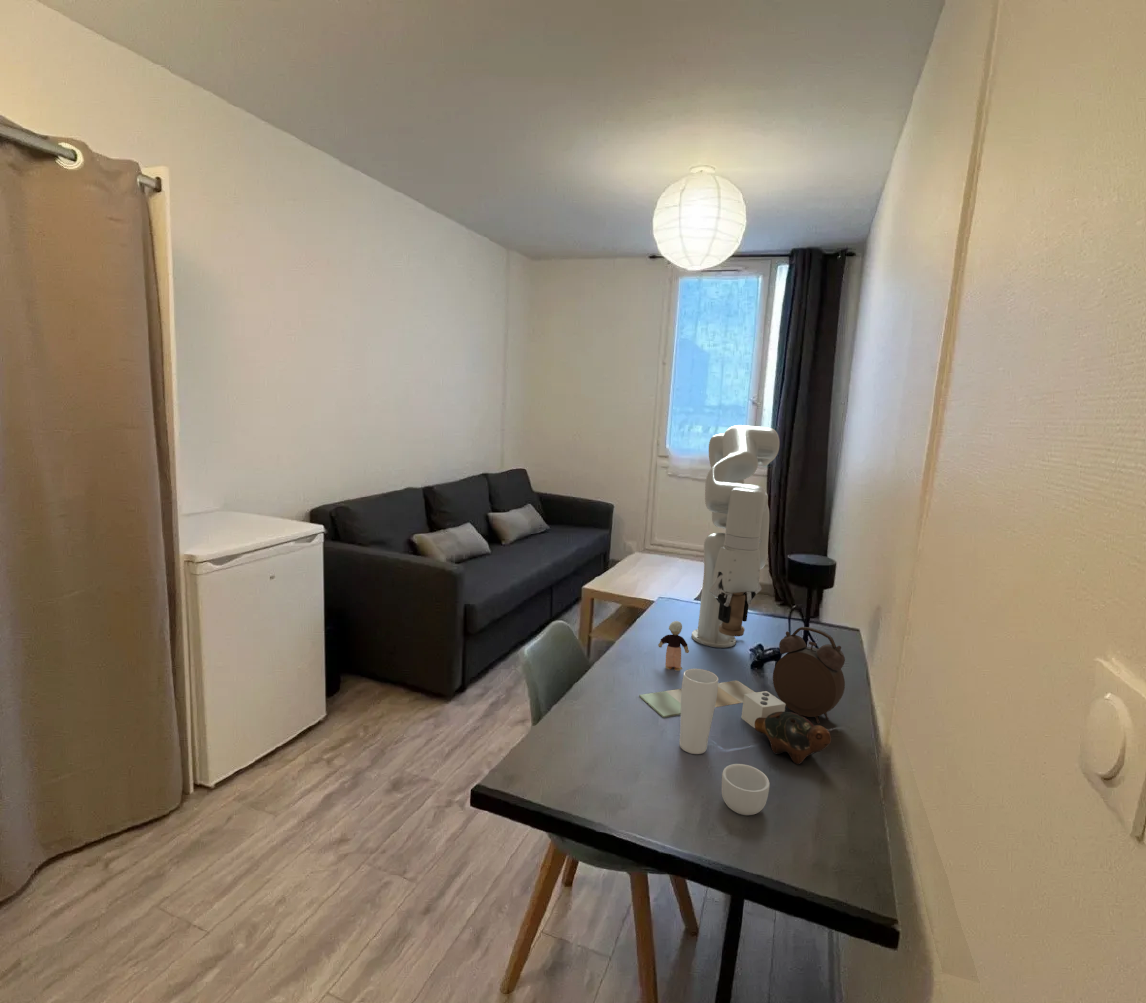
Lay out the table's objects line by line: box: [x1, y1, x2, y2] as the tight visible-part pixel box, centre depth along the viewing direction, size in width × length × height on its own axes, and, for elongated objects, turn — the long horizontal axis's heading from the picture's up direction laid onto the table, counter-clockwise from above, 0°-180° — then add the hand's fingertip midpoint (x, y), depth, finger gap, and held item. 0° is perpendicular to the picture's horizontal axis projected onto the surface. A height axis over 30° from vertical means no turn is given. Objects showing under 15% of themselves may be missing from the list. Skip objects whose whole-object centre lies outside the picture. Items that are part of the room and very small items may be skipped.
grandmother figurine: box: [657, 620, 690, 672], centre depth 157 cm, size 8×4×13 cm, turn 84°
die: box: [741, 690, 786, 729], centre depth 132 cm, size 6×6×6 cm
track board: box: [638, 679, 756, 719], centre depth 143 cm, size 28×10×1 cm, turn 115°
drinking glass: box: [678, 668, 719, 755], centre depth 120 cm, size 7×7×15 cm
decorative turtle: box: [754, 711, 832, 765], centre depth 122 cm, size 10×15×8 cm, turn 50°
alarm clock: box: [772, 626, 846, 724], centre depth 138 cm, size 15×7×20 cm, turn 47°
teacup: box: [721, 763, 771, 816], centre depth 105 cm, size 10×8×5 cm
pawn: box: [719, 592, 745, 637], centre depth 142 cm, size 6×6×12 cm
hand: (732, 619), depth 142 cm, fingers closed on pawn, 4 cm apart
